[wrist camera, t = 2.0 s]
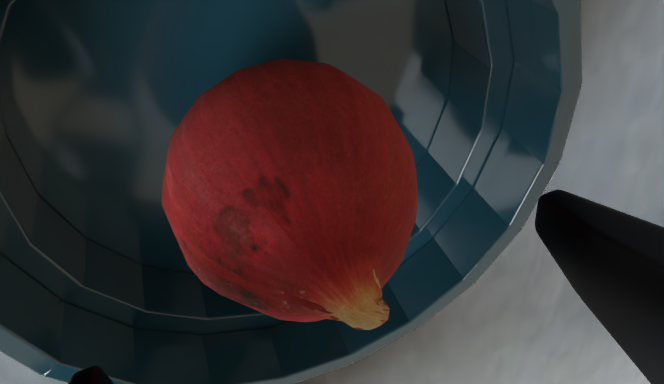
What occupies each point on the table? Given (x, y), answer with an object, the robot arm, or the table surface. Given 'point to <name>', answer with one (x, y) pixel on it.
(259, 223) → the onion
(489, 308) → the table surface
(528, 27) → the bowl
